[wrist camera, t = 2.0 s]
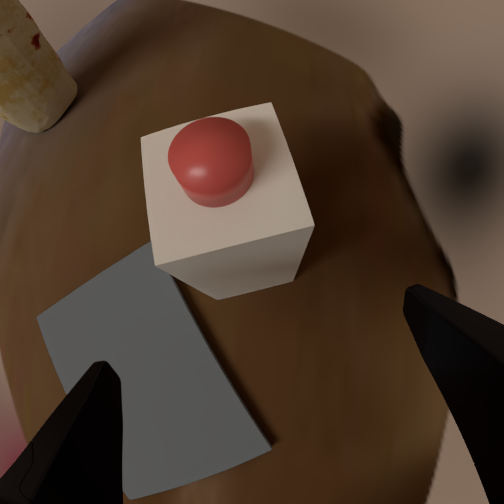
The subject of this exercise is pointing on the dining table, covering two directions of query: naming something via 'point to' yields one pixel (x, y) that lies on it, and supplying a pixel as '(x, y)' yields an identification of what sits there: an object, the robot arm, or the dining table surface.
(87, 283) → the placemat
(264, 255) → the big red button box
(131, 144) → the dining table surface
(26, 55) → the food model
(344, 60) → the dining table surface
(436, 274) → the dining table surface
